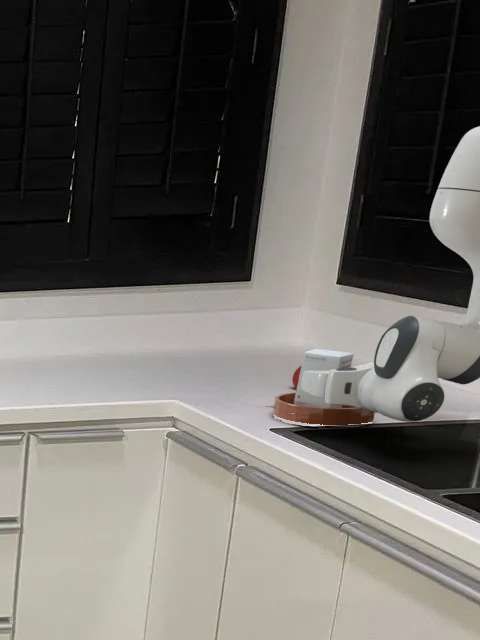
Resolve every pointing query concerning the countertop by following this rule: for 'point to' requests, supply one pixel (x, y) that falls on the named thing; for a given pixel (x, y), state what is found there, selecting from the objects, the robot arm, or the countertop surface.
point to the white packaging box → (320, 361)
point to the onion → (296, 377)
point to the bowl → (319, 413)
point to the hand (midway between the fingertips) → (340, 374)
